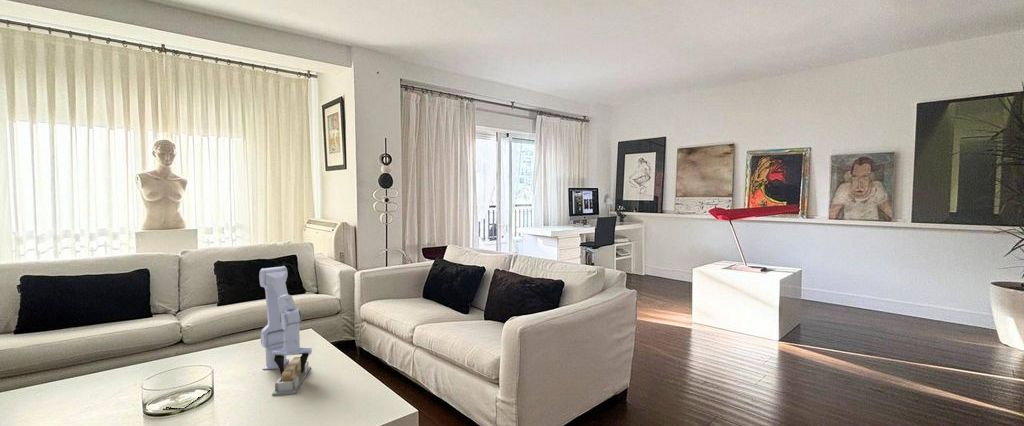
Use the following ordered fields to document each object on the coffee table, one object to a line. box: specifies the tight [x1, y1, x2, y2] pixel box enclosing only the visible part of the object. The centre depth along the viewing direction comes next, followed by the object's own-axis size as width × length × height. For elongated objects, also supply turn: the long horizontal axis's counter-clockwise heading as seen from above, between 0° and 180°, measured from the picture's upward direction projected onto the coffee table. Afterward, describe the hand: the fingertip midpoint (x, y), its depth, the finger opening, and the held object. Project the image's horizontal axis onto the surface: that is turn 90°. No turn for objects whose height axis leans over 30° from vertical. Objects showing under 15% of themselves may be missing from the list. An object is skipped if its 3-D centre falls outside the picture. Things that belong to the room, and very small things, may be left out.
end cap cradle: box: [271, 361, 312, 397], centre depth 174 cm, size 24×8×4 cm, turn 12°
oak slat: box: [281, 356, 301, 382], centre depth 174 cm, size 16×3×6 cm, turn 12°
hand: (292, 372), depth 174 cm, fingers open, 7 cm apart
